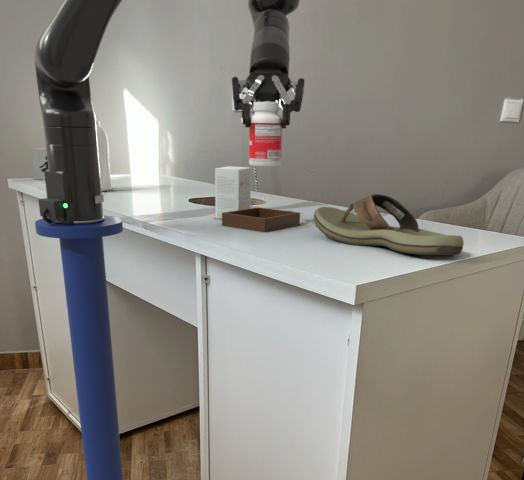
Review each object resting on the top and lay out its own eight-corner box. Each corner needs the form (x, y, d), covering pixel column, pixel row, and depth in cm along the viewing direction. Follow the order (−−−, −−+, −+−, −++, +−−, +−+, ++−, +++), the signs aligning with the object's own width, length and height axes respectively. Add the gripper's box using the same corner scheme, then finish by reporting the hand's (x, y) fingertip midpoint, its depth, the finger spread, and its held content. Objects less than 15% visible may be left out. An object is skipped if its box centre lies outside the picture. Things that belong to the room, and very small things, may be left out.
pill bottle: (254, 164, 109) (255, 102, 105) (284, 165, 107) (287, 103, 103) (244, 166, 103) (245, 101, 99) (276, 167, 102) (278, 101, 98)
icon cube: (42, 176, 205) (38, 148, 201) (70, 177, 206) (67, 148, 202) (34, 179, 195) (30, 149, 192) (63, 179, 196) (60, 149, 193)
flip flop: (302, 235, 104) (305, 188, 101) (347, 229, 111) (351, 186, 108) (430, 265, 83) (438, 208, 80) (476, 257, 90) (485, 203, 86)
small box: (227, 213, 128) (227, 165, 124) (250, 215, 126) (251, 166, 122) (214, 218, 121) (214, 167, 117) (238, 220, 119) (239, 169, 115)
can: (97, 193, 160) (90, 118, 153) (59, 191, 163) (51, 117, 156) (119, 189, 171) (114, 119, 164) (83, 187, 174) (77, 118, 167)
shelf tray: (264, 231, 107) (265, 218, 106) (221, 225, 113) (221, 212, 112) (299, 224, 116) (300, 212, 115) (258, 218, 122) (258, 207, 121)
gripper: (231, 40, 104) (224, 107, 98) (308, 41, 104) (306, 109, 97) (234, 74, 111) (228, 138, 105) (306, 75, 111) (304, 140, 104)
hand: (265, 124), depth 101 cm, fingers closed on pill bottle, 6 cm apart
